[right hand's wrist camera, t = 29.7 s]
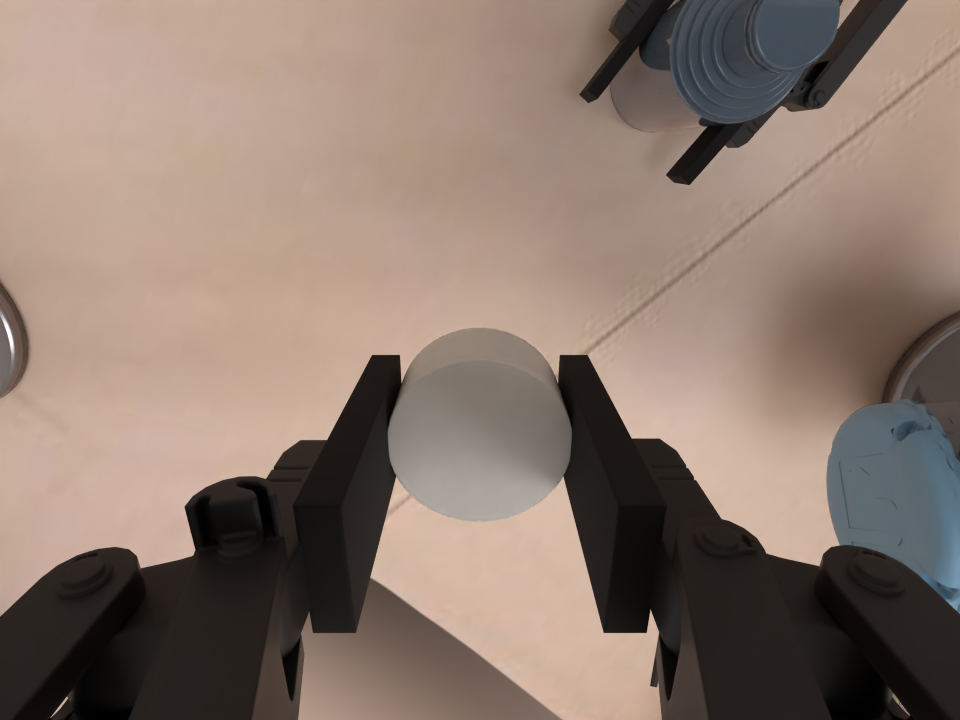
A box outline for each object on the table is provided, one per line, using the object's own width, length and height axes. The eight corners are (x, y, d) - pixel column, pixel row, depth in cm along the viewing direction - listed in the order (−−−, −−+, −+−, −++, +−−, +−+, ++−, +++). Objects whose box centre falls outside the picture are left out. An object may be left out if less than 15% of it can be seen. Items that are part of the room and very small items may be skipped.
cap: (588, 368, 14) (608, 407, 12) (513, 490, 16) (518, 545, 14) (440, 299, 14) (432, 327, 11) (376, 434, 15) (358, 482, 13)
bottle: (596, 117, 37) (683, 92, 21) (630, 10, 35) (756, -110, 19) (684, 143, 38) (833, 136, 22) (723, 39, 35) (922, -54, 19)
